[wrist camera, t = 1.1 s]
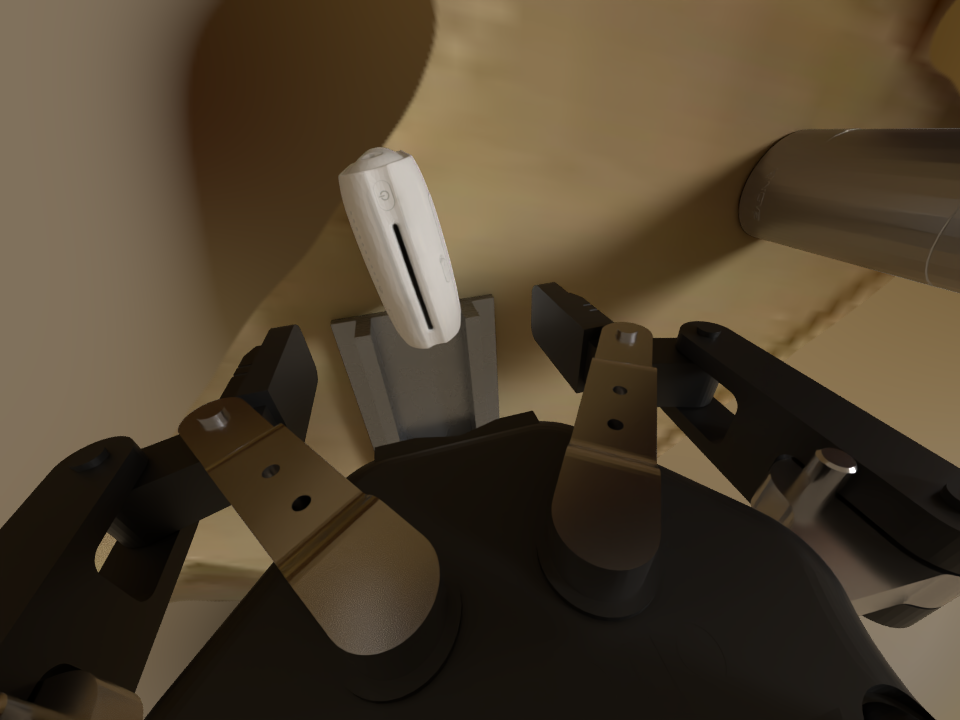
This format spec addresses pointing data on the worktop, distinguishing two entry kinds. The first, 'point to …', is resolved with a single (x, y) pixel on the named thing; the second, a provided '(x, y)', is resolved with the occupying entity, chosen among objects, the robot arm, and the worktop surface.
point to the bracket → (422, 375)
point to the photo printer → (402, 245)
